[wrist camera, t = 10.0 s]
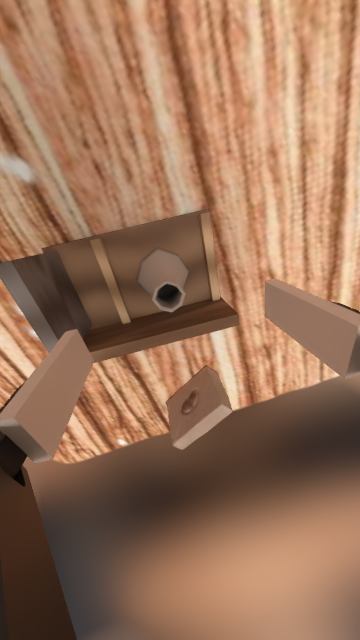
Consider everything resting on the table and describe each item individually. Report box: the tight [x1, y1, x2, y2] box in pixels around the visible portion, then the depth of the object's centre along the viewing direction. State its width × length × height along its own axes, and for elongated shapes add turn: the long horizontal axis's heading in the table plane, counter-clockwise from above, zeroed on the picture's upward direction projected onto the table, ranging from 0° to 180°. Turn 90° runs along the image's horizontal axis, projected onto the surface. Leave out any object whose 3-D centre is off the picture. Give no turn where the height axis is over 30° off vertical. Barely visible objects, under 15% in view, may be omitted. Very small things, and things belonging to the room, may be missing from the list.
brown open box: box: [0, 209, 239, 363], centre depth 24 cm, size 14×22×10 cm, turn 102°
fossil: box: [166, 366, 232, 449], centre depth 35 cm, size 12×4×10 cm, turn 137°
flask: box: [137, 248, 189, 312], centre depth 23 cm, size 7×7×10 cm
